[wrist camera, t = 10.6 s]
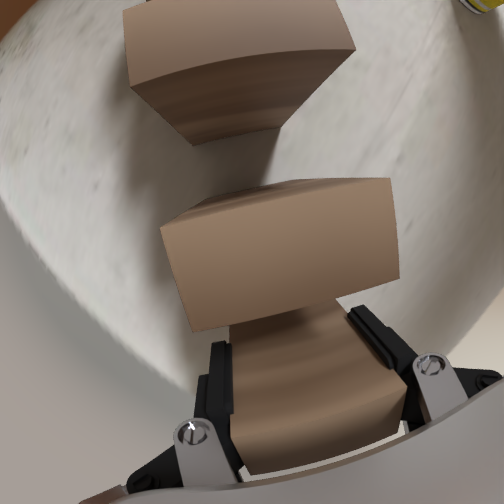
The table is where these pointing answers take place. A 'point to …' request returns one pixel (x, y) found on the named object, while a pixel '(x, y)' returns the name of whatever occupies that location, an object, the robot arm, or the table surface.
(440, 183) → the table surface
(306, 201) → the domino
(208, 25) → the domino
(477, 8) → the supplement bottle
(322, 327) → the domino
